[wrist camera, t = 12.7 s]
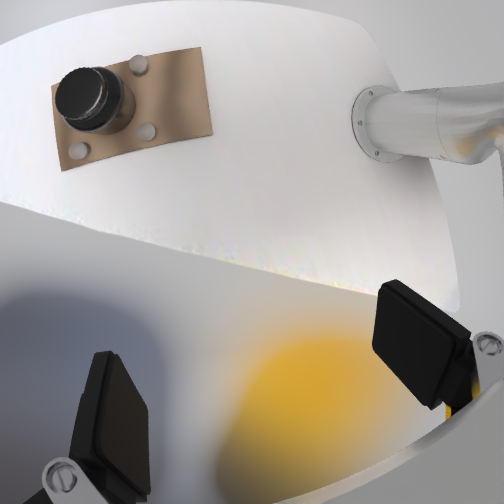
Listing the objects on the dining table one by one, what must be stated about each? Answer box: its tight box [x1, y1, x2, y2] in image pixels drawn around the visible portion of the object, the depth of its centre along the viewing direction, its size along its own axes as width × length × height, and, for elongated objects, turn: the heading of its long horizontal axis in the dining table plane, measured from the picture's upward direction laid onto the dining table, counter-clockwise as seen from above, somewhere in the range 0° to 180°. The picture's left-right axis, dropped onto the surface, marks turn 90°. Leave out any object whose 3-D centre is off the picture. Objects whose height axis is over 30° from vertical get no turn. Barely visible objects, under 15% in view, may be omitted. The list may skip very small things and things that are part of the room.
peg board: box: [51, 47, 212, 171], centre depth 28 cm, size 20×12×4 cm, turn 97°
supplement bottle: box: [55, 67, 136, 135], centre depth 23 cm, size 7×7×12 cm
